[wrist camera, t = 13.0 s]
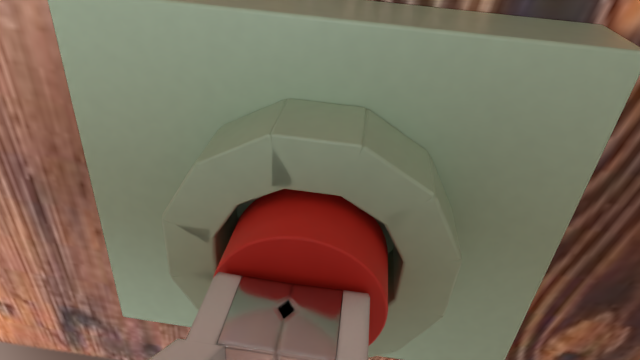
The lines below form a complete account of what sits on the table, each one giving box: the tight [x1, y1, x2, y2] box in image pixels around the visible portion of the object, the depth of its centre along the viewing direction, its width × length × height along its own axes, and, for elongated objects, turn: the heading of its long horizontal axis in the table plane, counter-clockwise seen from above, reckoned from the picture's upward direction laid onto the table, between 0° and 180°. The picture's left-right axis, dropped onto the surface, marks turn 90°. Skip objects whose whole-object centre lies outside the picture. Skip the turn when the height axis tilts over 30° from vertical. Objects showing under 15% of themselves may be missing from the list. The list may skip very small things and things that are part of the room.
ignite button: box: [213, 189, 388, 346], centre depth 10 cm, size 4×4×2 cm
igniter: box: [48, 0, 640, 360], centre depth 12 cm, size 12×10×4 cm
